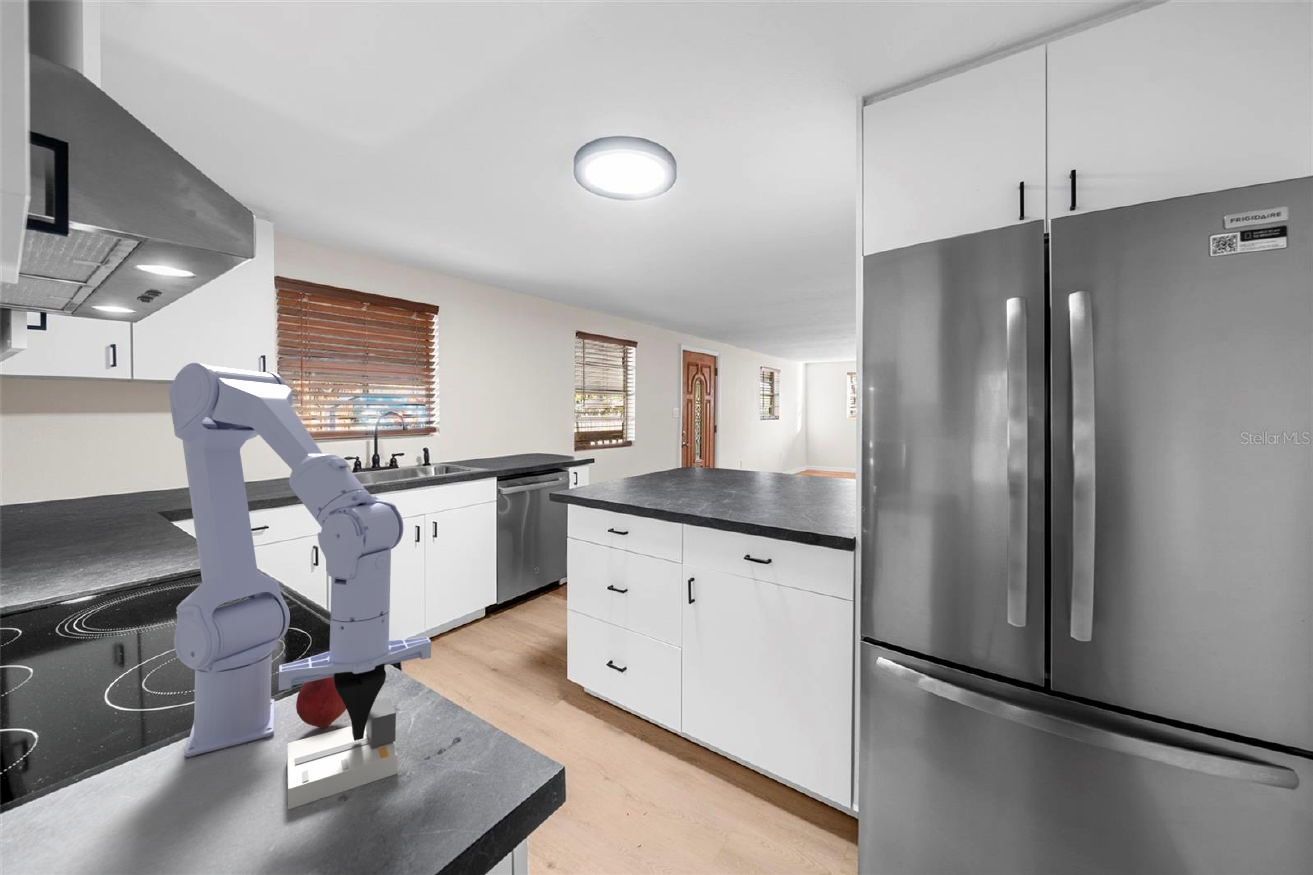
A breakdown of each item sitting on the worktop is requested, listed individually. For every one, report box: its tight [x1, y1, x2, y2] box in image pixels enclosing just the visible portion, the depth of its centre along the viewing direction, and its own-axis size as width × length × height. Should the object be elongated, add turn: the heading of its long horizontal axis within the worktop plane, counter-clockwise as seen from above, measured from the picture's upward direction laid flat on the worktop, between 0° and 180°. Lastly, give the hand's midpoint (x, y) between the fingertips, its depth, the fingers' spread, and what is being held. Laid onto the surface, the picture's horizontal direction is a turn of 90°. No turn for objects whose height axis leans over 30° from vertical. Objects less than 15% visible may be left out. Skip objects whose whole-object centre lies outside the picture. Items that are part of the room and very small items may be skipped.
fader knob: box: [366, 697, 397, 748], centre depth 59 cm, size 4×2×3 cm, turn 36°
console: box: [286, 725, 399, 810], centre depth 57 cm, size 9×10×2 cm
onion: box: [295, 677, 347, 729], centre depth 64 cm, size 6×6×8 cm
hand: (358, 735), depth 58 cm, fingers closed
